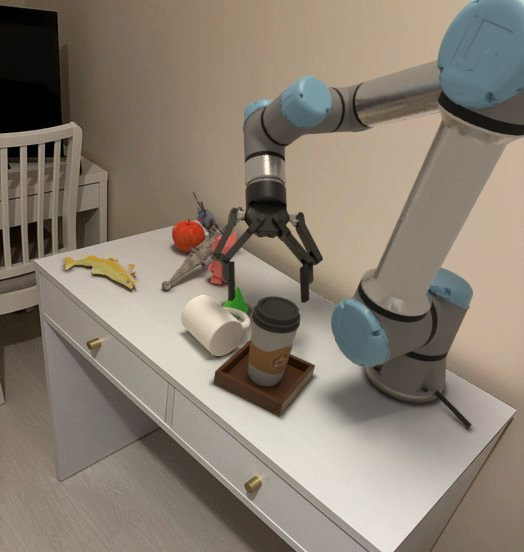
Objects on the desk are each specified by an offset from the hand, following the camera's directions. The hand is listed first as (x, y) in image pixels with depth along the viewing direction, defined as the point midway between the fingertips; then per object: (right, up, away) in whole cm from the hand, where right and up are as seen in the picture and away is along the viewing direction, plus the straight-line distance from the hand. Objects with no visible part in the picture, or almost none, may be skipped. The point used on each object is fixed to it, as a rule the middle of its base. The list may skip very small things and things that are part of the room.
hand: (269, 300), depth 98 cm
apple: (-20, +16, +39) cm, 47 cm away
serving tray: (-1, -14, +3) cm, 15 cm away
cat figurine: (-11, +7, +29) cm, 32 cm away
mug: (-10, -7, +11) cm, 16 cm away
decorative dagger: (-23, +4, +22) cm, 32 cm away
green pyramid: (-7, 0, +20) cm, 22 cm away
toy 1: (-33, +12, +26) cm, 44 cm away
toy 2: (-10, +16, +36) cm, 41 cm away
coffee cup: (-1, -14, +3) cm, 14 cm away
